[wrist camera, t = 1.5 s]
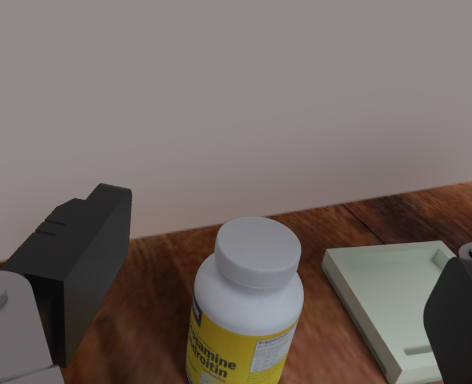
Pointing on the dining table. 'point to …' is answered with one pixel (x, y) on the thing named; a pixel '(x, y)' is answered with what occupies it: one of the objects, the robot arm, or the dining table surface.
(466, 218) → the dining table surface
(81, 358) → the dining table surface
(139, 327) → the dining table surface
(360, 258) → the dish
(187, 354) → the pill bottle
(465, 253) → the pacifier
